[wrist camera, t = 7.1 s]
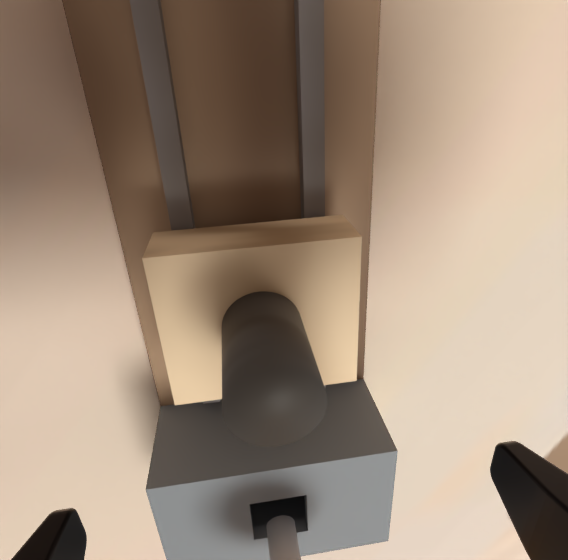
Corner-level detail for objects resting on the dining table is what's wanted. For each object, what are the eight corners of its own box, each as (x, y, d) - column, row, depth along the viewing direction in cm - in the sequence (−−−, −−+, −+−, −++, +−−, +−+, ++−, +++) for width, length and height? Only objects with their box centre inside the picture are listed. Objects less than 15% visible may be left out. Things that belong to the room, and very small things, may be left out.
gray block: (183, 466, 24) (172, 578, 18) (164, 385, 21) (145, 489, 16) (360, 439, 25) (399, 538, 20) (364, 359, 22) (410, 448, 17)
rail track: (164, 385, 21) (151, 457, 17) (19, -244, 11) (-92, -421, 7) (354, 360, 22) (384, 423, 18) (374, -236, 12) (449, -387, 8)
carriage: (180, 365, 18) (161, 503, 12) (153, 232, 15) (112, 328, 9) (340, 345, 18) (395, 466, 13) (342, 214, 16) (413, 294, 10)
